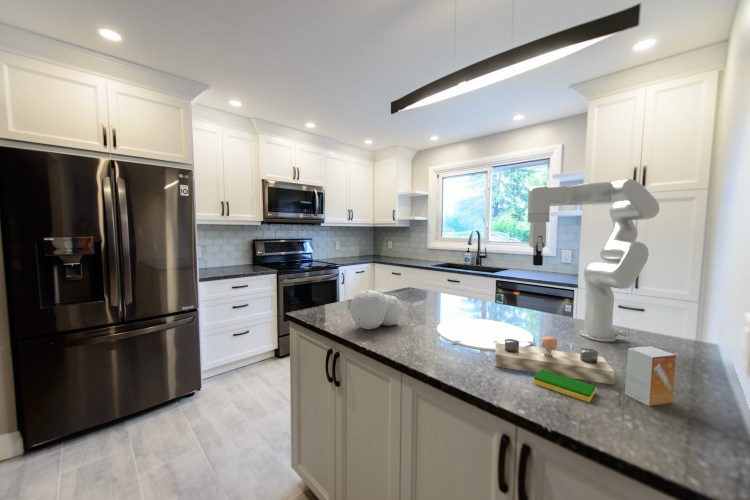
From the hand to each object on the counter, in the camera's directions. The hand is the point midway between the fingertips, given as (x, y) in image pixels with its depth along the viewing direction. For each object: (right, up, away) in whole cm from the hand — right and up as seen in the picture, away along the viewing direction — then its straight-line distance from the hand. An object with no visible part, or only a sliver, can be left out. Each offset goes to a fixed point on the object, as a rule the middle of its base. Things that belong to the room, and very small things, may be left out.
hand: (537, 265), depth 121 cm
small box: (+9, -34, -40) cm, 53 cm away
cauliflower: (-64, -30, +21) cm, 74 cm away
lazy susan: (-17, -31, +12) cm, 37 cm away
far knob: (-18, -32, -17) cm, 40 cm away
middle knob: (-8, -29, -21) cm, 37 cm away
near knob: (+2, -32, -25) cm, 41 cm away
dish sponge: (-11, -34, -34) cm, 49 cm away
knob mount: (-8, -32, -21) cm, 40 cm away
